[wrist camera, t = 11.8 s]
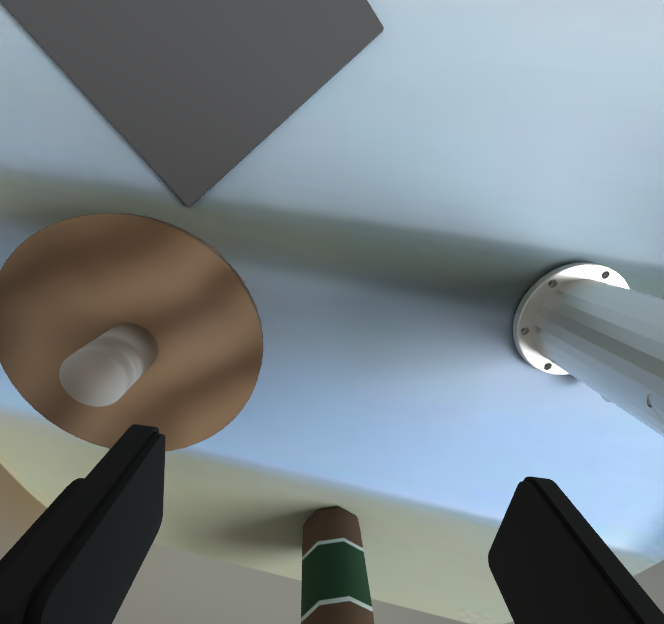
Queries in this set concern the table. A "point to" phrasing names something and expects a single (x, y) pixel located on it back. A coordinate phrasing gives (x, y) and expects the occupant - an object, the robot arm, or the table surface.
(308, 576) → the beer bottle
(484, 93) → the table surface
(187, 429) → the lid
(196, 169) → the mat
